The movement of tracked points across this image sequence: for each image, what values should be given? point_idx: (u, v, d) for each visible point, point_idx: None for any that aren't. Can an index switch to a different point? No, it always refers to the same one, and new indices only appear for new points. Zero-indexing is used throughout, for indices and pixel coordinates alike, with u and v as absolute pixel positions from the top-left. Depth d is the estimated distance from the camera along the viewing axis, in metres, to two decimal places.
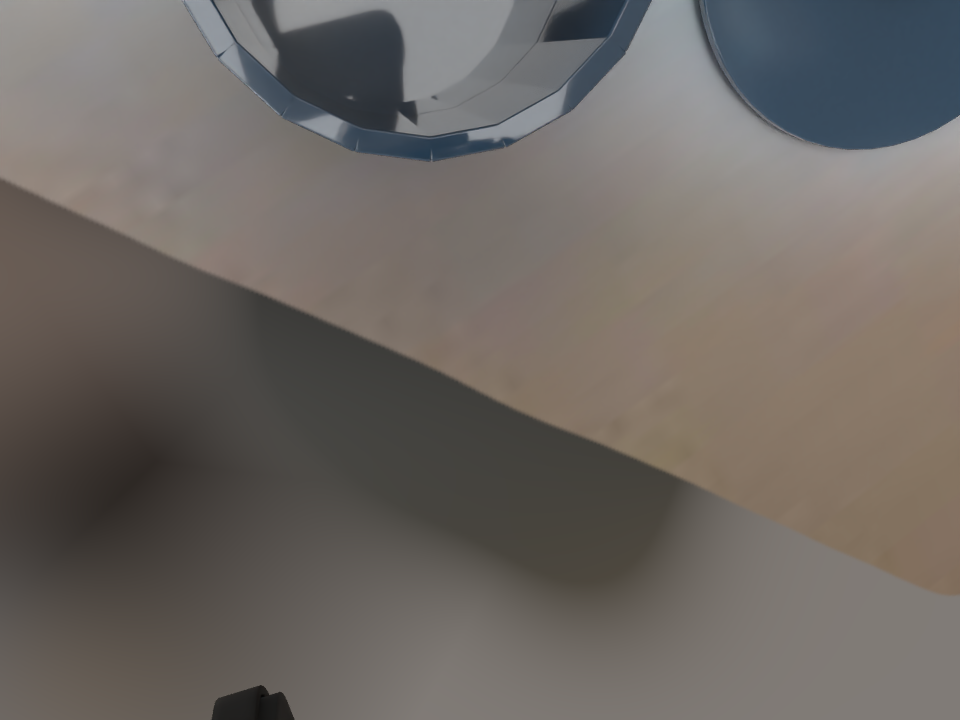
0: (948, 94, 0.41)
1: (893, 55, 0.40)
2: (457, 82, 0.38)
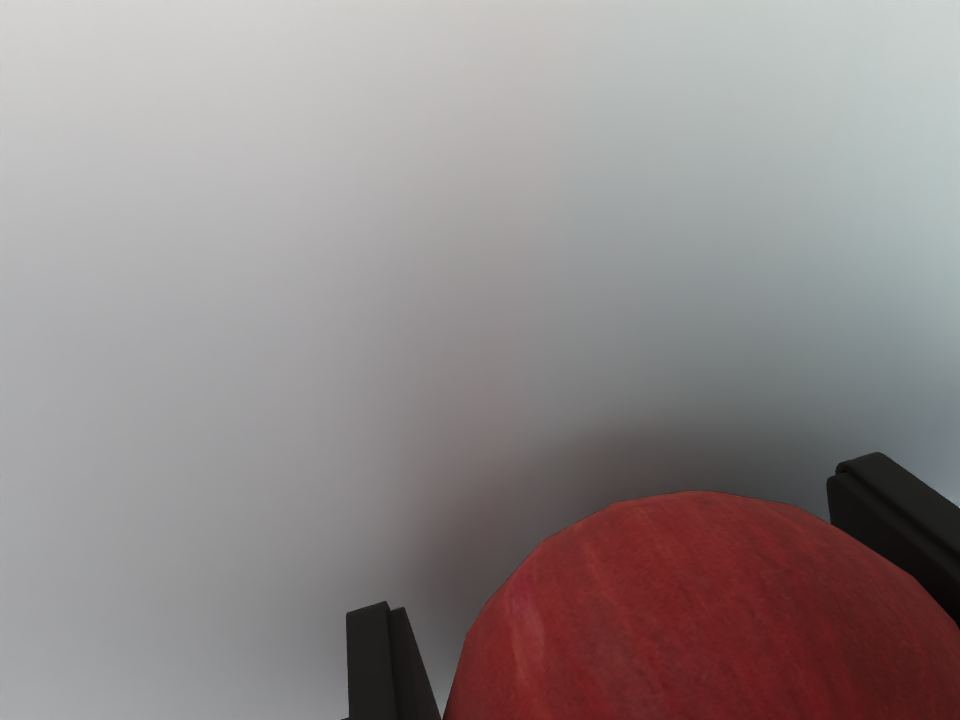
0: None
1: None
2: None
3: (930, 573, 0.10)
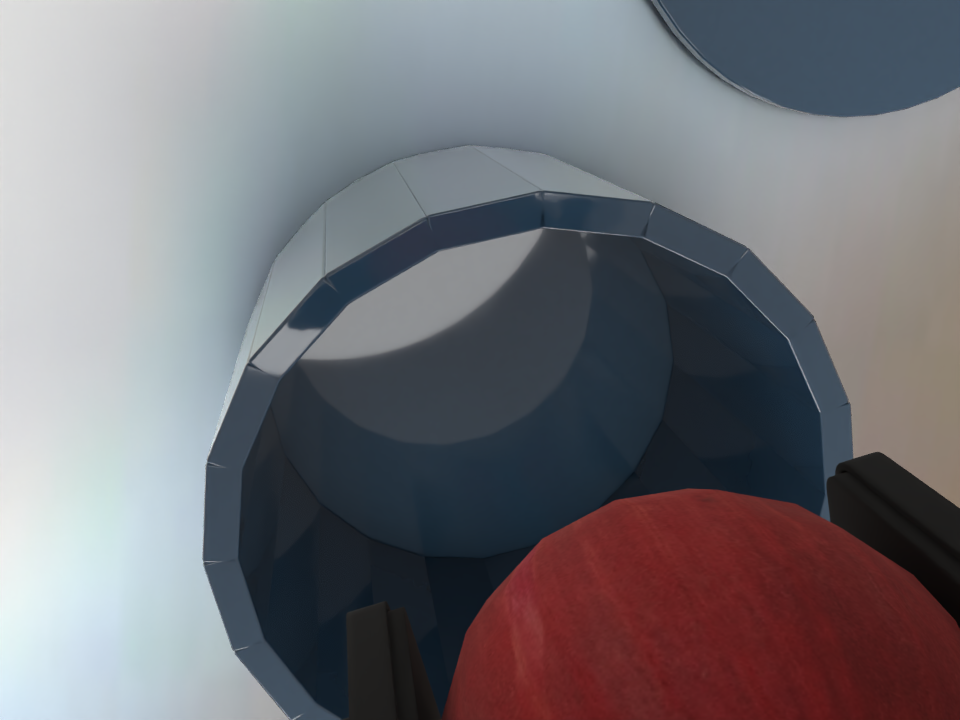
0: None
1: None
2: (642, 403, 0.32)
3: (930, 573, 0.10)
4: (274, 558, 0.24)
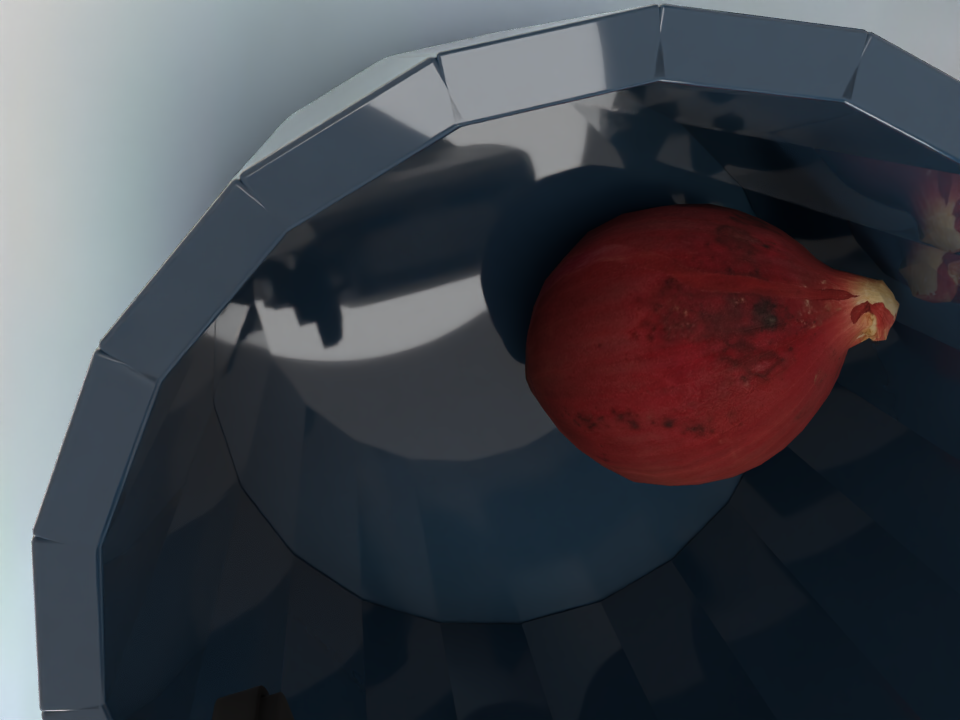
0: None
1: None
2: None
3: None
4: (202, 664, 0.15)
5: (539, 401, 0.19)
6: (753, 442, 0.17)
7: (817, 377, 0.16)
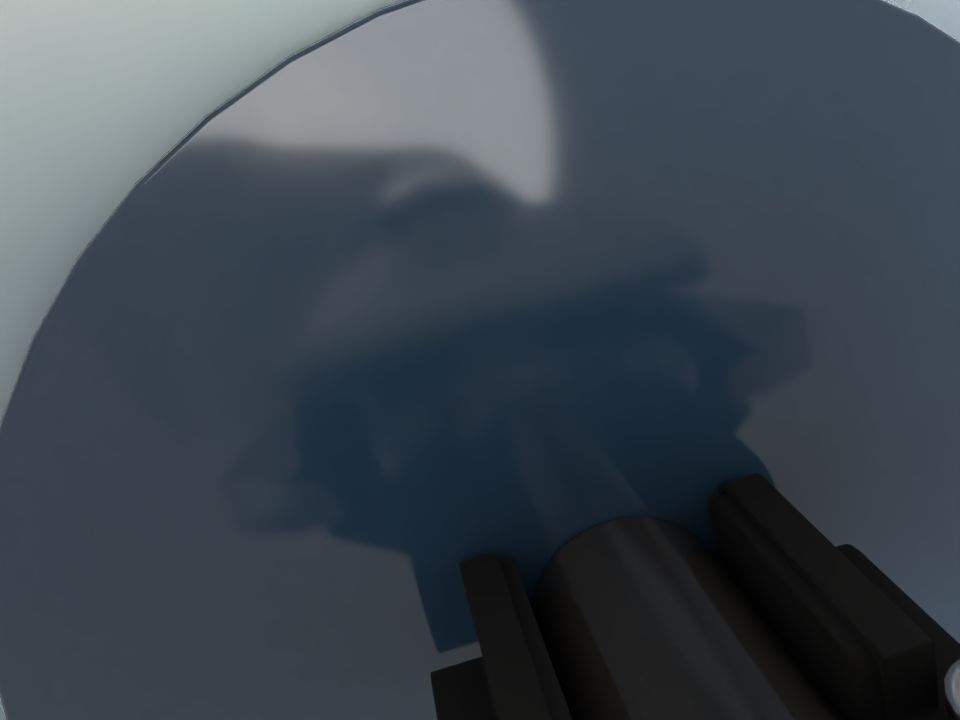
0: None
1: None
2: None
3: (786, 595, 0.10)
4: None
5: None
6: None
7: None
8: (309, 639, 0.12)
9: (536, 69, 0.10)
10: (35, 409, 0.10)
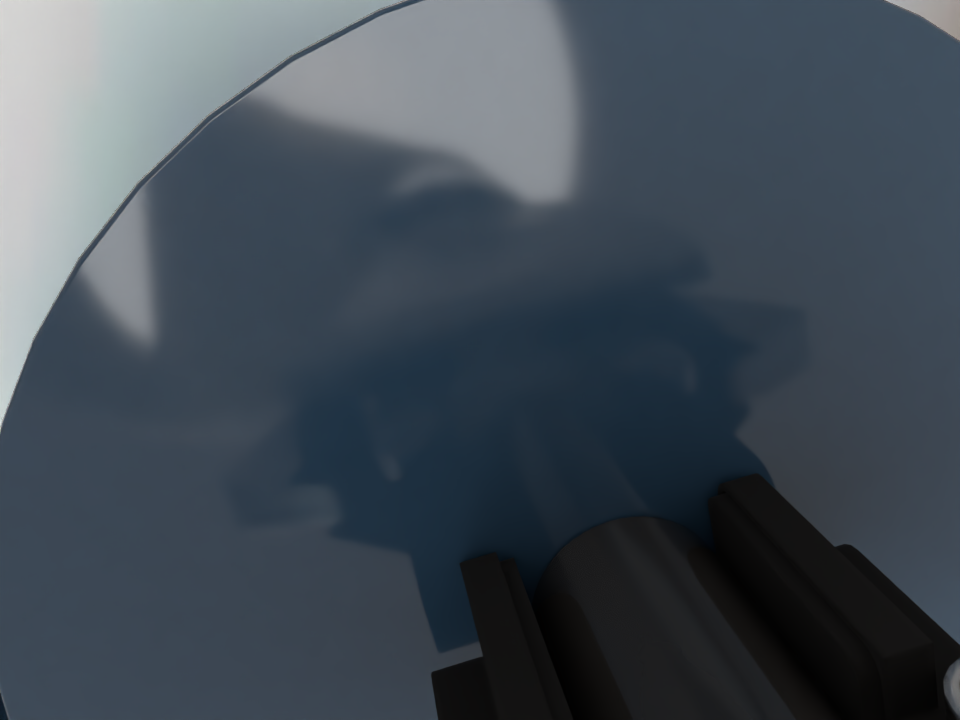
0: None
1: None
2: None
3: (785, 596, 0.10)
4: None
5: None
6: None
7: None
8: (310, 639, 0.12)
9: (538, 68, 0.10)
10: (36, 408, 0.10)
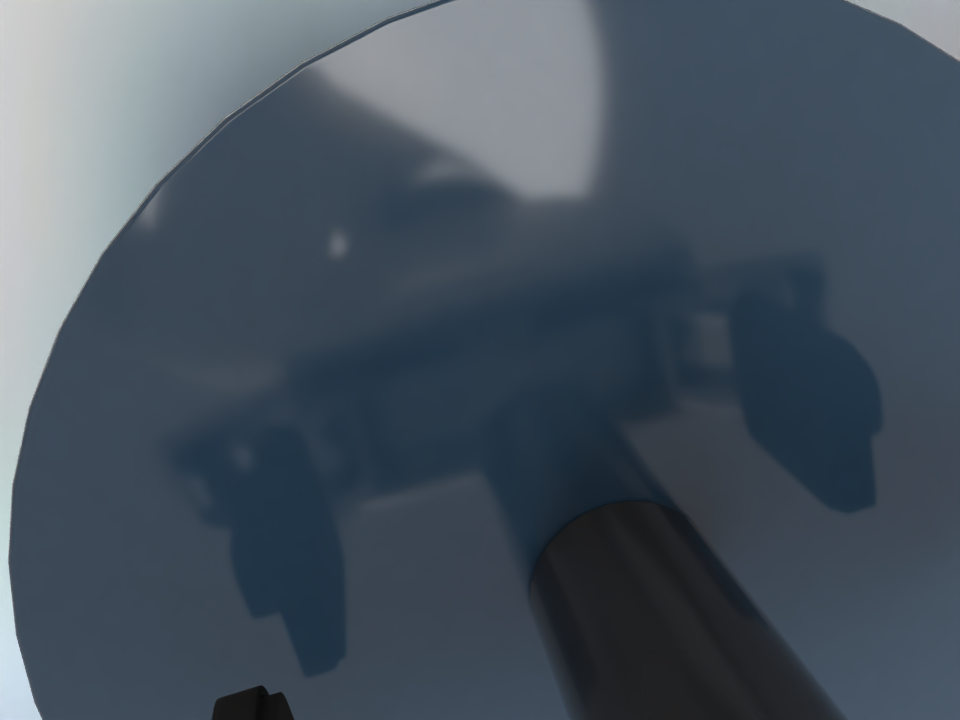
0: None
1: (865, 646, 0.14)
2: None
3: None
4: None
5: None
6: None
7: None
8: (319, 617, 0.13)
9: (536, 74, 0.11)
10: (61, 395, 0.11)
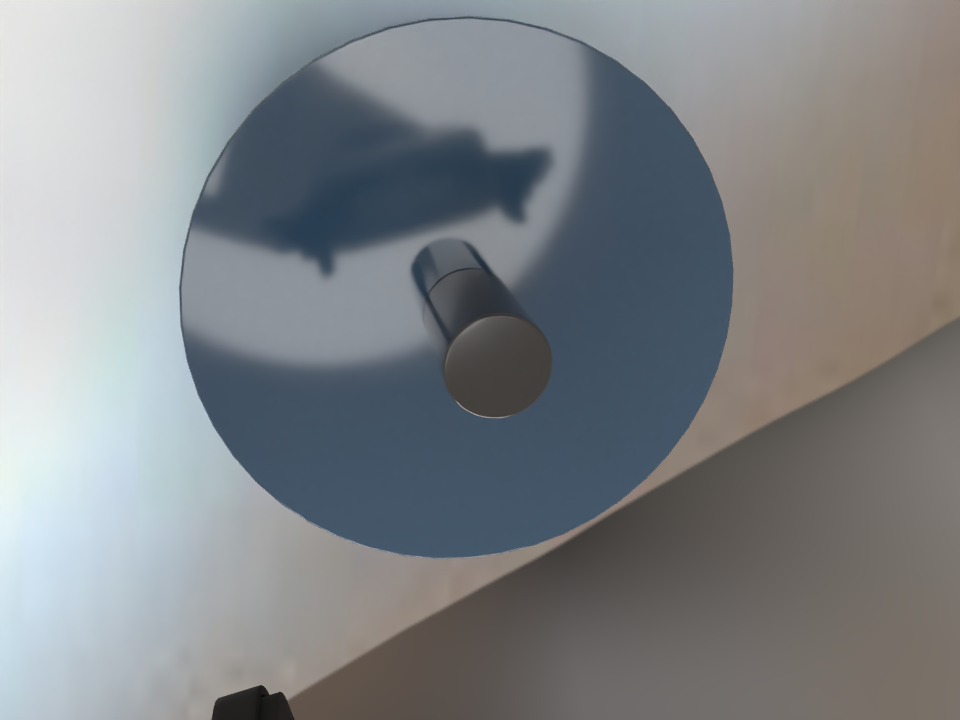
0: (696, 304, 0.28)
1: (599, 356, 0.28)
2: None
3: None
4: None
5: None
6: None
7: None
8: (321, 323, 0.26)
9: (416, 64, 0.25)
10: (207, 207, 0.25)
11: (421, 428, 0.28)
